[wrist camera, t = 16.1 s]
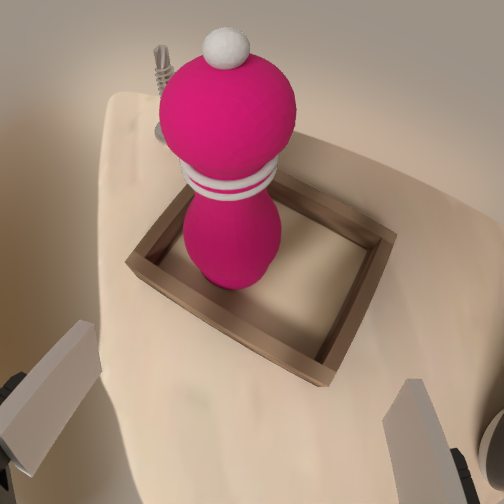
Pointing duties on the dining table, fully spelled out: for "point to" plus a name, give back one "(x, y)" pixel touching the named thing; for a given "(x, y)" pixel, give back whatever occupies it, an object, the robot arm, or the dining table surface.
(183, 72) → the pepper mill
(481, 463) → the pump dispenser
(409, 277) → the dining table surface
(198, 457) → the dining table surface
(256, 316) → the walnut tray
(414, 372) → the dining table surface
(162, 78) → the screw
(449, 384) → the dining table surface
